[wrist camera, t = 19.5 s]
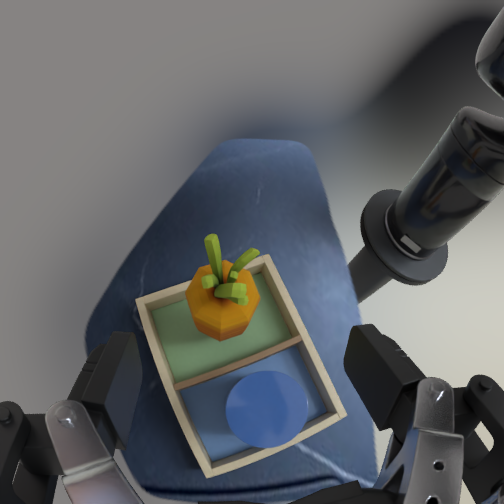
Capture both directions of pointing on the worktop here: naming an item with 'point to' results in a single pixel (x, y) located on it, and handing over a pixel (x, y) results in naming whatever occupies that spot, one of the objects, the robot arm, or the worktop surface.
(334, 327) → the worktop surface
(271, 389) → the blue cylinder
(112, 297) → the worktop surface
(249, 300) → the carrot
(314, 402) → the sorting tray
